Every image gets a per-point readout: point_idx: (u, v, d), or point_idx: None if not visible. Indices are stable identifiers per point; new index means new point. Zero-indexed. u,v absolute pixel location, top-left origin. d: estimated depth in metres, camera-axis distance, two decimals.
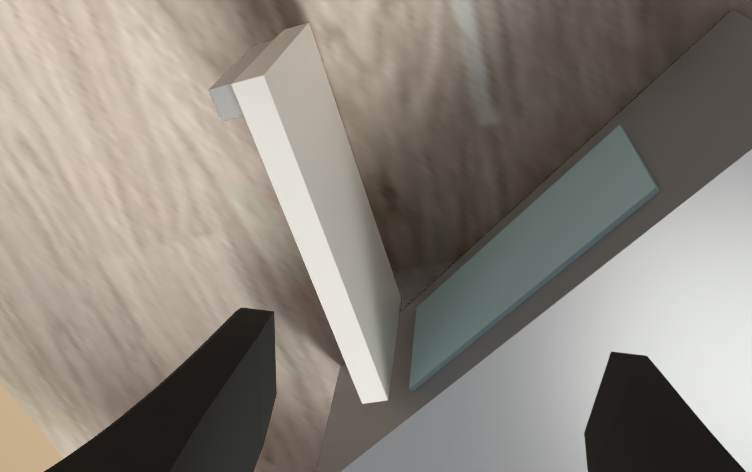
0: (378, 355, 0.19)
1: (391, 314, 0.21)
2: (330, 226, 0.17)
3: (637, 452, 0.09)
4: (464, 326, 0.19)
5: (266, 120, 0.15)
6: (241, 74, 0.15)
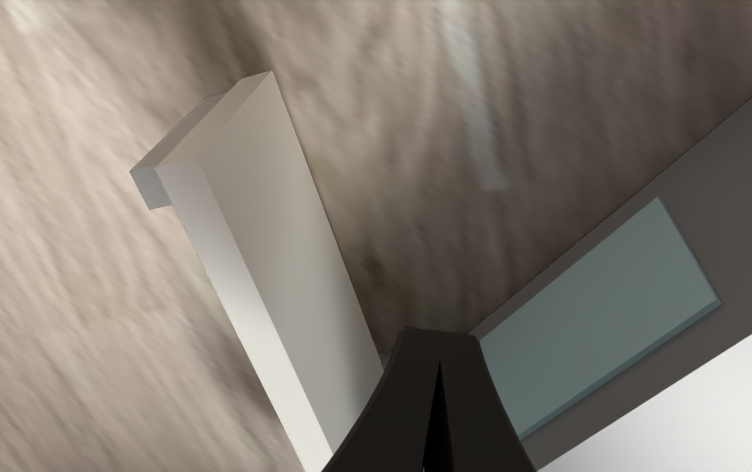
0: None
1: None
2: (294, 335, 0.13)
3: (439, 426, 0.10)
4: None
5: (203, 213, 0.11)
6: (172, 151, 0.11)
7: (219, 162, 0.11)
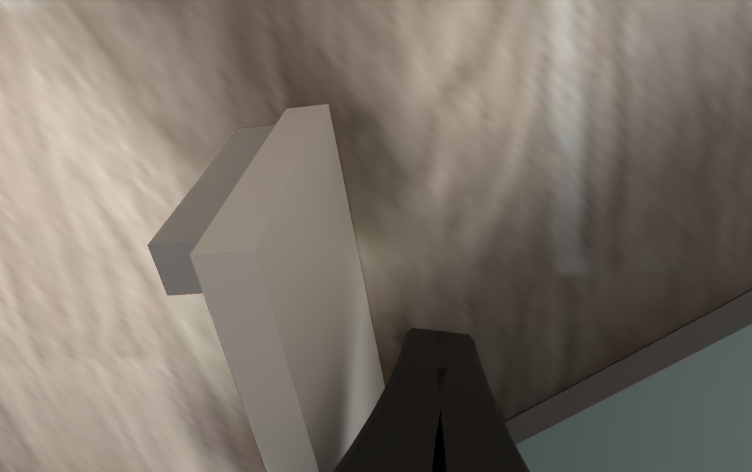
0: None
1: None
2: (332, 460, 0.10)
3: None
4: None
5: (247, 319, 0.08)
6: (211, 225, 0.08)
7: (275, 247, 0.08)
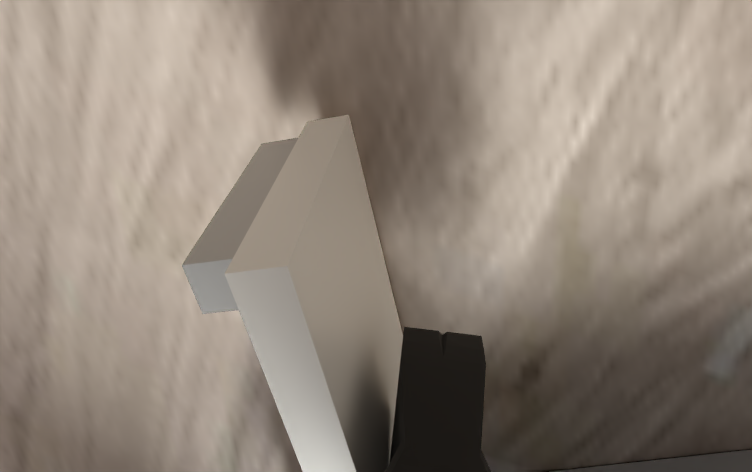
0: None
1: None
2: (371, 470, 0.10)
3: (398, 421, 0.10)
4: None
5: (284, 333, 0.08)
6: (243, 242, 0.08)
7: (307, 262, 0.08)
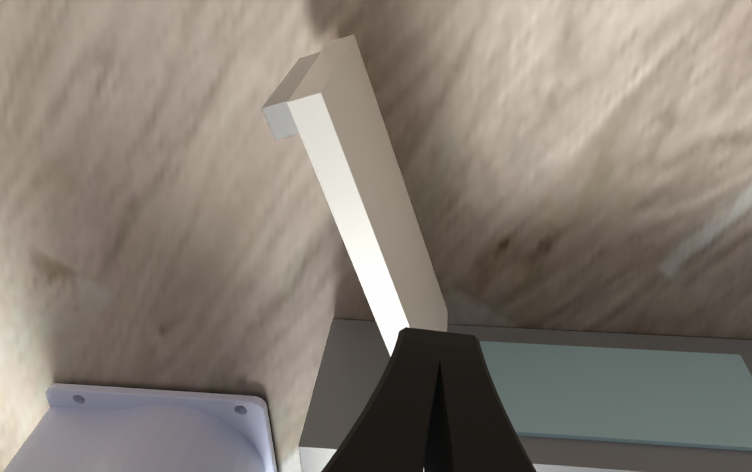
0: None
1: (440, 329, 0.21)
2: (385, 244, 0.16)
3: (439, 427, 0.10)
4: (551, 414, 0.20)
5: (322, 138, 0.14)
6: (295, 91, 0.15)
7: (332, 99, 0.15)
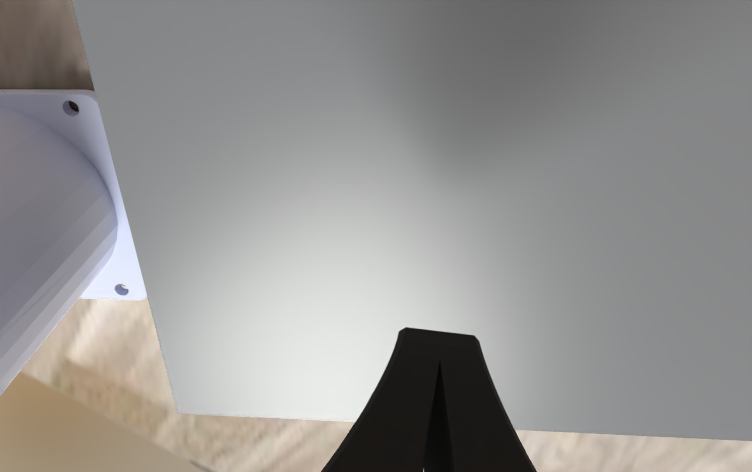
0: None
1: None
2: None
3: (439, 427, 0.10)
4: None
5: None
6: None
7: None
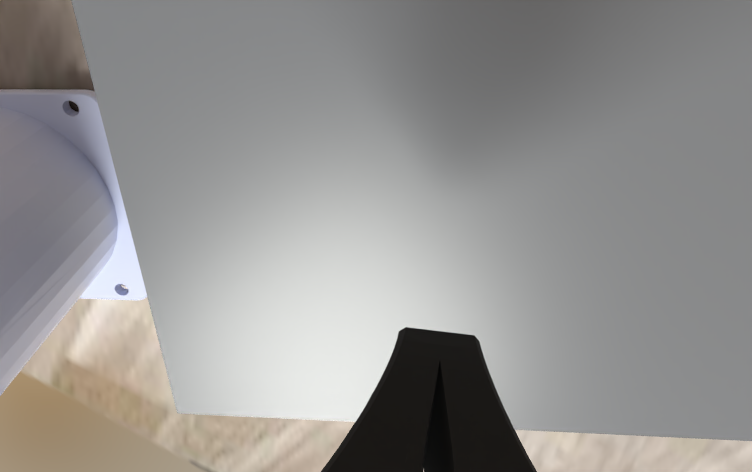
0: None
1: None
2: None
3: (439, 427, 0.10)
4: None
5: None
6: None
7: None
